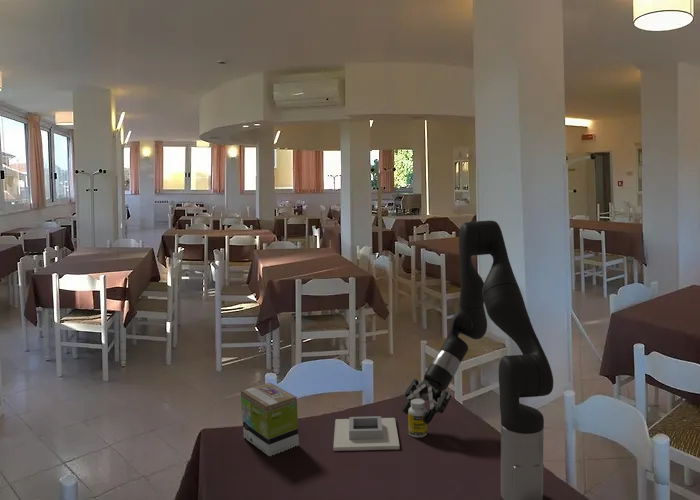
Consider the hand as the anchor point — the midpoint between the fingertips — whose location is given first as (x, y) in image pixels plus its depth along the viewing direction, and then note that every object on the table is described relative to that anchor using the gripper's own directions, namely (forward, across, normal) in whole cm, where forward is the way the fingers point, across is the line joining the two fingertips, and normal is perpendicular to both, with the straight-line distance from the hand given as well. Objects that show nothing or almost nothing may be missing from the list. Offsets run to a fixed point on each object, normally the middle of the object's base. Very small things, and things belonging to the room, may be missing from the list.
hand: (414, 417), depth 160 cm
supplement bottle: (+3, 0, +5) cm, 6 cm away
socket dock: (+11, -9, -4) cm, 15 cm away
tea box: (+28, -23, -20) cm, 41 cm away
